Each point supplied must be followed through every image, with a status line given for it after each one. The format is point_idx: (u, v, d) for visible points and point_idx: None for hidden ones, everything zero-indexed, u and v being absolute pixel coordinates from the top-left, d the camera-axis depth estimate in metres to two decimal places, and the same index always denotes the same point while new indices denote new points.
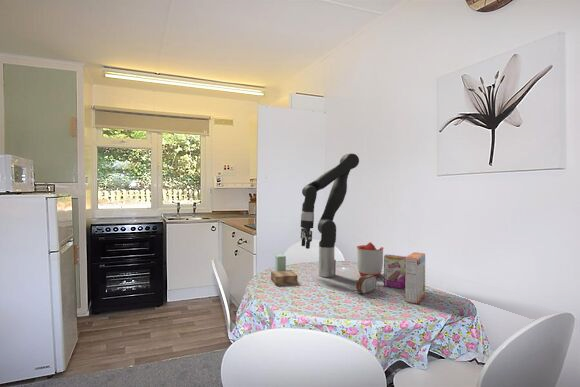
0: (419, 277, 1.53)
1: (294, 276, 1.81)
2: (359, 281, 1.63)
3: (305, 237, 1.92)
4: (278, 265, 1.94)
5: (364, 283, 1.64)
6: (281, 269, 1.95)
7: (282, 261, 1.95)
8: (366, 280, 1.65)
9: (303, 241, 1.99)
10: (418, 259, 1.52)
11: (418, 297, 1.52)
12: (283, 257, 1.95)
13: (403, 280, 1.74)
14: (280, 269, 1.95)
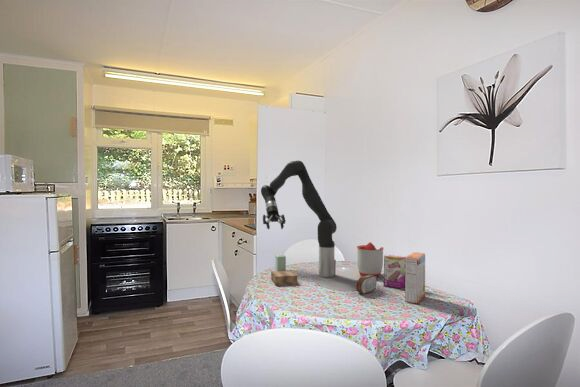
0: (419, 277, 1.53)
1: (294, 276, 1.81)
2: (359, 281, 1.63)
3: None
4: (278, 265, 1.94)
5: (364, 283, 1.64)
6: (281, 269, 1.95)
7: (282, 261, 1.95)
8: (366, 280, 1.65)
9: None
10: (418, 259, 1.52)
11: (418, 297, 1.52)
12: (283, 257, 1.95)
13: (403, 280, 1.74)
14: (280, 269, 1.95)
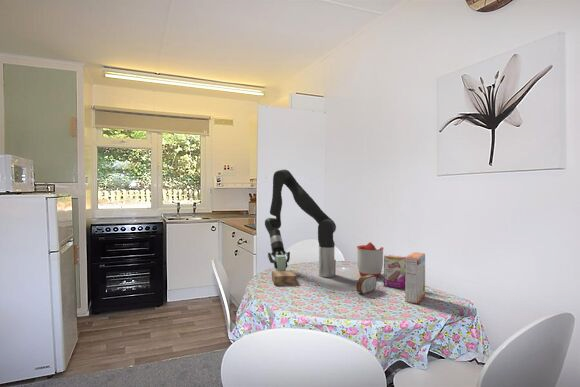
0: (419, 277, 1.53)
1: (293, 276, 1.80)
2: (359, 281, 1.63)
3: None
4: (278, 265, 1.94)
5: (364, 283, 1.64)
6: (281, 269, 1.95)
7: (282, 261, 1.95)
8: (366, 280, 1.65)
9: None
10: (418, 259, 1.52)
11: (418, 297, 1.52)
12: (283, 257, 1.95)
13: (403, 280, 1.74)
14: (280, 269, 1.95)
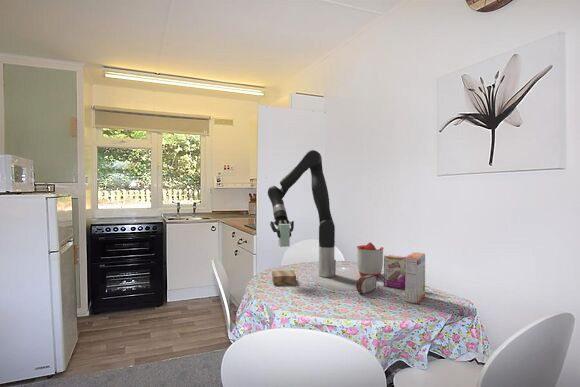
0: (419, 277, 1.53)
1: (293, 276, 1.80)
2: (359, 281, 1.63)
3: None
4: (281, 234, 1.82)
5: (364, 283, 1.64)
6: (285, 238, 1.83)
7: (286, 229, 1.83)
8: (366, 280, 1.65)
9: None
10: (418, 259, 1.52)
11: (418, 297, 1.52)
12: (287, 225, 1.83)
13: (403, 280, 1.74)
14: (283, 238, 1.83)
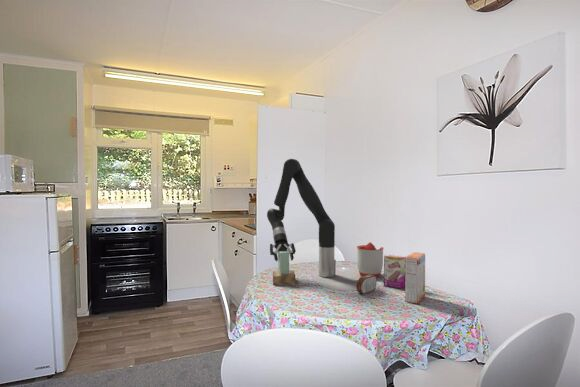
0: (419, 277, 1.53)
1: (292, 277, 1.80)
2: (359, 281, 1.63)
3: None
4: (281, 262, 1.82)
5: (364, 283, 1.64)
6: (284, 266, 1.83)
7: (285, 257, 1.83)
8: (366, 280, 1.65)
9: (290, 255, 1.87)
10: (418, 259, 1.52)
11: (418, 297, 1.52)
12: (286, 253, 1.83)
13: (403, 280, 1.74)
14: (283, 266, 1.83)
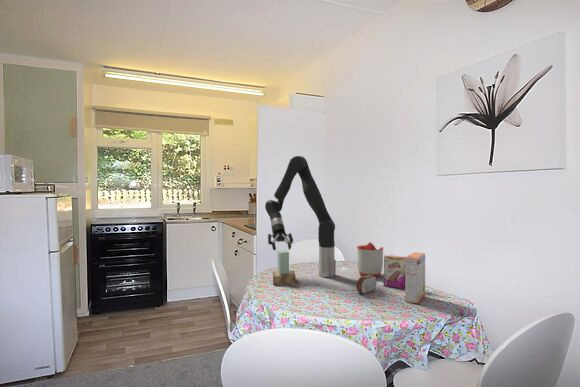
0: (419, 277, 1.53)
1: (292, 277, 1.80)
2: (359, 281, 1.63)
3: None
4: (281, 261, 1.82)
5: (364, 283, 1.64)
6: (284, 266, 1.83)
7: (285, 257, 1.83)
8: (366, 280, 1.65)
9: (288, 245, 1.92)
10: (418, 259, 1.52)
11: (418, 297, 1.52)
12: (286, 253, 1.83)
13: (403, 280, 1.74)
14: (283, 266, 1.83)
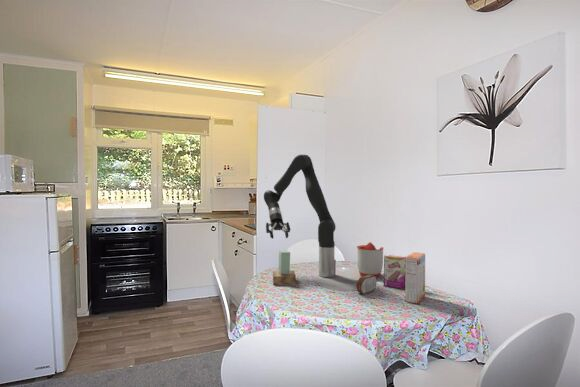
0: (419, 277, 1.53)
1: (292, 277, 1.80)
2: (359, 281, 1.63)
3: None
4: (282, 261, 1.83)
5: (364, 283, 1.64)
6: (285, 266, 1.83)
7: (286, 257, 1.83)
8: (366, 280, 1.65)
9: (285, 233, 1.98)
10: (418, 259, 1.52)
11: (418, 297, 1.52)
12: (287, 253, 1.83)
13: (403, 280, 1.74)
14: (284, 266, 1.83)
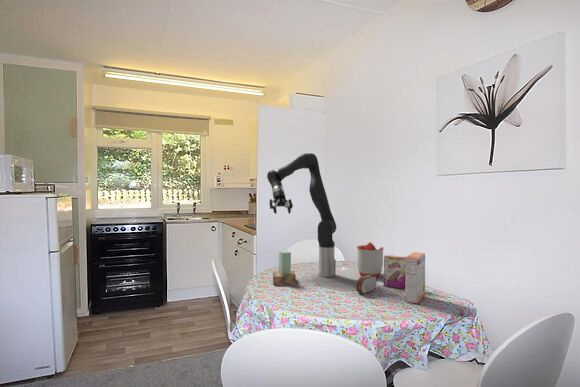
0: (419, 277, 1.53)
1: (292, 277, 1.79)
2: (359, 281, 1.63)
3: None
4: (283, 262, 1.82)
5: (364, 283, 1.64)
6: (286, 266, 1.83)
7: (287, 257, 1.83)
8: (366, 280, 1.65)
9: (288, 209, 2.08)
10: (418, 259, 1.52)
11: (418, 297, 1.52)
12: (288, 253, 1.83)
13: (403, 280, 1.74)
14: (285, 266, 1.83)
